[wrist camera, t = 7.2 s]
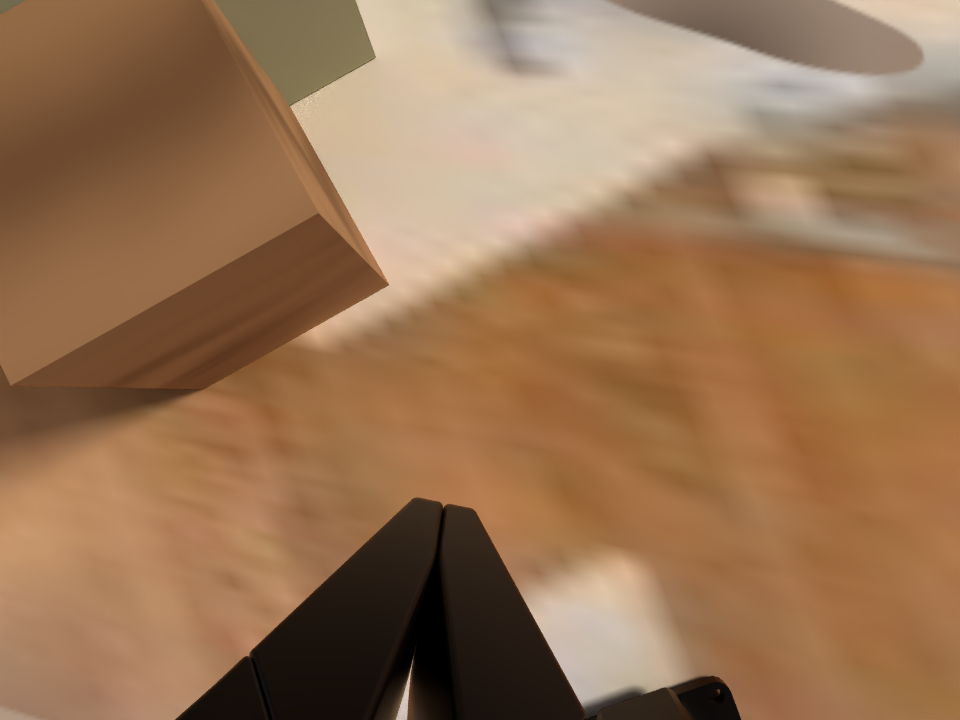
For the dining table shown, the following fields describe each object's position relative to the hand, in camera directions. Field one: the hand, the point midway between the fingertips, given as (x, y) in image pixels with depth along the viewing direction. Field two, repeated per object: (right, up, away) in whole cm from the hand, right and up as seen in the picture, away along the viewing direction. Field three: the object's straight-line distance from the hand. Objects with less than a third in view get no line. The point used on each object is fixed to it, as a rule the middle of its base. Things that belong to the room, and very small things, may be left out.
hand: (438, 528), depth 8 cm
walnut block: (-8, +7, +14) cm, 17 cm away
